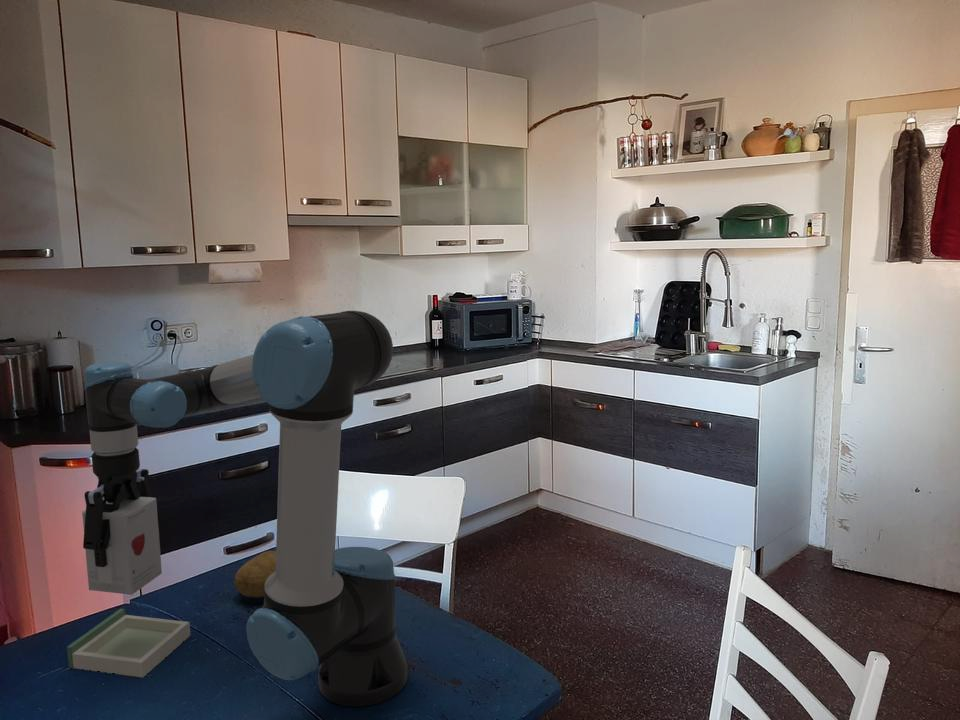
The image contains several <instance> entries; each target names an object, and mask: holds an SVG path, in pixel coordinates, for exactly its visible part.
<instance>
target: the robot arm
mask: <svg viewBox="0 0 960 720" xmlns="http://www.w3.org/2000/svg"><path fill="white" fill-rule="evenodd" d="M393 355H394V343H393V339H392V336H391V333H390V332H389V330H388V328H387V327H386V325H384V323H383V322H382V321H381V320H380V319H379V318H377V317H376V316H374V315H373V314H371V313H368V312H365V311H359V310H346V311H345V310H344V311H340V312H335V313H325V314H316V315H310V316H302V315H301V316H298V317H293V318H290V319H289V320H285V321H280V322H278V323H276V324H273V325H272V326H271V327H270V328H269V329H267V330H266V331H265V332H264V333H263V334H262V335H261V336H260V338H259V339H258V341H257V344H256V346H255V348H254V351H253V354H250V355H247V356H243V357H240V358H237V359H233V360H230V361H226V362H223V363H219V364H216V365H212V366H209V367H208V366H207V367H204V368H201V369H196V370H191V371H187V372H181V373H175V374H171V375H165V376H160V377H155V378H150V379H149V378H148V379H145V378H144V379H143V378H136V377H134V373H133V369H132V366H131V365H130V364H129V363H128V362H125V361H107V362H98V363H94V364H90V365H88V366H87V367H86V368H85V369H84V373H83V374H84V386H83V391H84V396H85V406H86V415H87V422H88V423H87V424H88V429H89V439H90V440H89V441H90V450H91V452H93V453H92V454H91V456H90V457H91V465H92V472H93V474H94V475H95V476H96V477H97V479H98V480H97V481H98V482H97V486H96V488H95V489H94V490H92V491H90V490H89V491H88V490H87V491H85V492H84V500H85V505H86V506H85V510H86V515H85V528H84V527H83V544H82V548H83V549H84V550H85V549H91V550H94V556H95V565H96V567H97V569H98V579H99V582H104V583H114V582H115V574H114V564H113V553H112V546H108V544H109V539H110V520H109V519H102V518H103V512H108V513H111V512H113V511H115V510H117V509H119V507H120V503H121V502H122V501H123V500H124V499H130V500H136V499H138V498H140V497H152V498H154V496H153V493H152V488H151V485H150V480H149V477H150V475H149V474H150V473H149V469H146V468H145V469H144V468H140V467H141V463H140V462H141V461H140V451H139V449H138V448H137V446H138V445H139V437H138V426H137V424H138V425H141V426H144V427H147V428H148V427H150V428H154V429H155V428H157V429H158V428H162V429H164V428H165V429H166V428H171V427H172V426H175V425H176V424H177V423H178V422H179V421H180V420H182V418H183V417H188V416H191V415H194V414H197V413H201V412H205V411H210V410H213V409H218V408H219V409H220V408H224V407H228V406H230V405H234V404H237V403H241V402H242V403H243V402H246V401H251V400H254V399H259V398H262V399H263V400H264V402H266V403H267V404H268V406H269V409H268V410H269V411H268V412H269V413H270V415H272V417H274V418H275V419H276V420H277V421H278V422H279V444H278V445H279V446H278V447H279V448H278V451H279V452H278V476H277V478H278V481H277V483H278V485H277V513H276V539H275V540H276V544H275V545H276V547H275V548H276V549H275V551H276V571H275V572H274V573H272V574H271V575H270V576H269V577H268V578H267V580H266V582H265V587H264V588H265V589H264V597H263V605H262V607H261V608H256V610H255V611H253V614H252V615H250V616H249V617H248V619H247V622H246V629H245V630H246V631H245V632H246V638H247V642H248V645H249V647H250V650H251V652H252V654H253V656H254V657H255V658H256V659H257V660H258V662H259V664H260V665H261V666H262V667H263V668H264V669H265V671H267V672H268V673H270V674H271V675H272V676H275V677H276V678H279V679H281V680H287V681H294V680H298V679H300V678H302V677H304V676H306V675H307V674H308V673H310V672H314V671H315V670H316V669H318V672H317V674H318V675H317V681H318V690H319V693H321V695H322V696H323V697H324V698H325V699H326V700H327V701H329V702H331V703H332V704H333V703H334V704H336V705H339V706H344V707H357V708H358V707H367V706H373V705H377V704H381V703H384V702H385V701H388V700H390V699H391V698H393V697H394V696H396V695H397V694H399V693H400V692H401V691H402V689H404V687H405V686H406V684H407V681H408V664H407V660H406V657H405V654H404V652H403V649H402V647H401V644H400V640H399V639H398V635H397V628H396V625H397V624H396V594H395V593H396V592H395V588H396V587H395V585H396V584H395V579H396V574H395V568H394V567H395V566H394V561H393V558H392V557H391V555H389V553H387V552H385V550H380V549H378V548H374V547H368V546H345V547H340V548H336V541H337V540H336V538H337V520H338V518H337V517H338V502H339V501H338V500H339V483H340V482H339V480H340V461H341V460H340V458H341V442H342V441H341V439H342V424H343V423H344V422H345V421H346V420H348V419H349V418H350V417H352V415H353V414H354V399H355V390H357V389H361V388H364V387H366V386H368V385H371V384H373V383H375V382H376V381H378V380H379V379H380V378H382V377H383V375H384V374H385V373H386V371H387V370H388V369H389V367H390V364H391V363H392V362H391V361H392V360H393ZM106 501H107V502H109V503H113V504H106ZM101 540H102V542H101ZM318 667H319V668H318Z"/></svg>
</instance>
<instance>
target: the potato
mask: <svg viewBox="0 0 960 720" xmlns="http://www.w3.org/2000/svg"><path fill="white" fill-rule="evenodd" d="M275 571H276V550H267V551H263V552H262V553H260V554H257V555H256V556H254V557H252V559H249V560H248V561H246V562H245V563H244V564H243V565H241V567H240V568H239V569H237V572H236V573H235V577H234V582H233V584H234V586H235V588H236V590H237V591H238V592H239V593H240V594H241V595H242V596H244V597H247V598H258V599H260V598H264V589H265V588H264V587H265V582H266V580H267V578H268V577H269V576H270V575H271V574H272V573H274V572H275Z"/></svg>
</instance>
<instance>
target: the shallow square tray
mask: <svg viewBox="0 0 960 720" xmlns="http://www.w3.org/2000/svg"><path fill="white" fill-rule="evenodd" d="M190 625H191V624H190V622H189V621H184V620H183V621H182V620H175V619H174V620H173V619H165V618H156V617H150V616H149V617H148V616H139V615H133V614H131V615H130V614H126V609H125V608H119V609H118V610H115V612H113V613H112V614H110V615H109V616H107V617H106V618H105V619H103V621H101V622H100V623H98V624H97V625H95V626H93V628H90V630H88V631H87V632H85V633H84V634H83V635H81V636H80V637H79V638H77V639H76V640H74V641H72V642H71V643H70V644H69V645H67V646H66V652H67V660H68V668H69V669H77V670H82V669H83V670H84V671H90V670H91V672H97V671H100V672H99V673H105V672H106V674H112V673H115V674H114V675H121V676H128V677H136V678H144V677H145V676H146V675H148V674H149V673H150V672H151V671H152V670H153V669H154V668H156V666H158V665H159V664H160V663H161V662H162V661H163V660H165V659H166V658H167V657H168V656H169V655H170V654H172V653H173V652H174V651H175V650H176V649H177V648H178V647H180V645H181V644H183V643H184V642H185V641H186V640H187V639H189V638H190V637H191V627H190ZM183 641H184V642H183ZM182 642H183V643H182ZM173 650H174V651H173ZM165 657H166V658H165ZM83 670H82V671H83ZM147 673H148V674H147Z"/></svg>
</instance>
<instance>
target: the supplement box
mask: <svg viewBox="0 0 960 720" xmlns="http://www.w3.org/2000/svg"><path fill="white" fill-rule="evenodd" d="M106 504H113V503H109V502H107V501H106ZM81 512H82V513H81V514H82V523H83V524H82V525H83V529H84V528H85V515H86V509H84V510H83V511H81ZM102 519H109V520H110V539H109V544H108V546H112V553H113V564H114V574H115V582H114V583H104V582H99V579H98V569H97V567H96V565H95V556H94V550H91V549H84V550H85V559H86V570H87V571H86V573H87V574H86V575H87V585H88V590H89V591H95V592H103V593H113V594H115V593H116V594H122V595H129V596H132V595H134V594H135V593H136V592H138V591H139V590H141V589H142V588H144V587H145V586H146V585H148V584H149V583H150V582H152V581H153V580H154V579H156V578H158V577H159V576H161V575H162V573H163V571H162V558H161V555H162V554H161V545H160V544H161V543H160V531H159V520H158V519H159V518H158V503H157V498H156V497H153V498H152V497H140V498H138V499H136V500H130V499H124V500H123V501H122V502H121V503H120V507H119V509H117V510H115V511H113V512H111V513H108V512H103V518H102ZM101 542H102V540H101Z"/></svg>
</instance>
